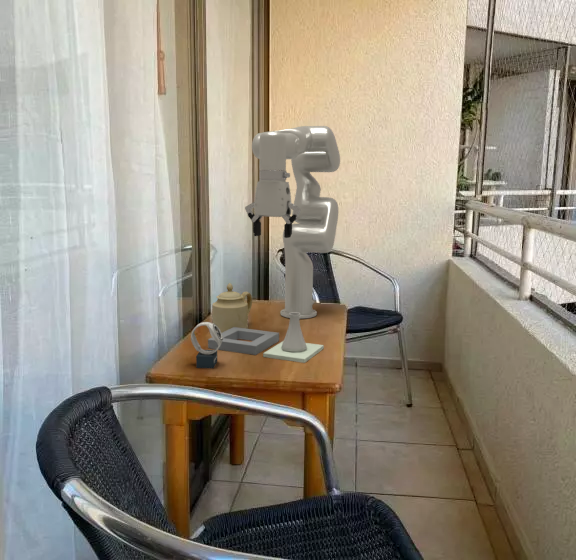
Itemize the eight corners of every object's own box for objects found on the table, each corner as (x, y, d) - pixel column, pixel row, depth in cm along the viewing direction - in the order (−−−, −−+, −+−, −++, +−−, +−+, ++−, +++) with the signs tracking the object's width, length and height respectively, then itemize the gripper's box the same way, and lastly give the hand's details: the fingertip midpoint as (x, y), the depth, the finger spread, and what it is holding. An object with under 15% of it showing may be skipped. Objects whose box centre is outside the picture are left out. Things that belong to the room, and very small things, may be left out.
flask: (305, 353, 158) (305, 317, 156) (278, 351, 159) (278, 315, 158) (309, 346, 165) (309, 311, 163) (283, 344, 166) (284, 309, 165)
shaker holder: (234, 335, 179) (234, 327, 179) (279, 341, 173) (279, 332, 173) (208, 348, 166) (207, 339, 165) (255, 355, 160) (255, 346, 159)
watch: (221, 368, 148) (220, 326, 146) (189, 367, 149) (188, 325, 147) (224, 361, 154) (224, 320, 152) (194, 360, 154) (193, 319, 152)
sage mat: (284, 343, 171) (284, 340, 171) (323, 348, 166) (323, 345, 166) (263, 356, 158) (263, 353, 158) (304, 362, 153) (304, 359, 153)
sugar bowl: (220, 322, 195) (219, 277, 192) (253, 323, 193) (253, 278, 191) (208, 334, 180) (207, 285, 178) (244, 335, 179) (243, 286, 176)
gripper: (305, 177, 168) (304, 237, 171) (251, 176, 175) (251, 234, 178) (295, 177, 162) (294, 239, 165) (239, 176, 168) (239, 236, 171)
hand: (272, 236), depth 171 cm, fingers open, 9 cm apart
